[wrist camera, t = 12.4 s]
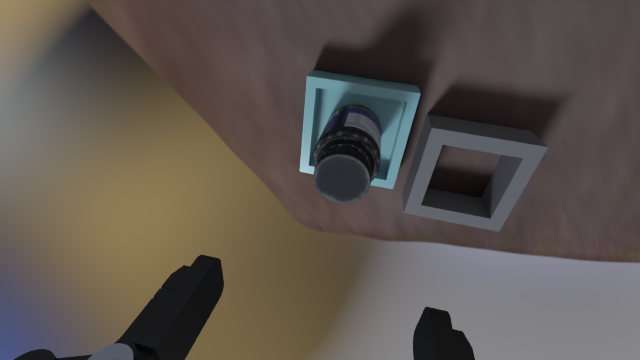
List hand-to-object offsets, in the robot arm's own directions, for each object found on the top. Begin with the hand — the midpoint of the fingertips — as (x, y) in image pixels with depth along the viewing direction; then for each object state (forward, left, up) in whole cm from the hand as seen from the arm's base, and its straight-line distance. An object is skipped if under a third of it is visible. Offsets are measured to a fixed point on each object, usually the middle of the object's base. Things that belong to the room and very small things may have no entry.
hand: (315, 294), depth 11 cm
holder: (-12, +5, -25) cm, 28 cm away
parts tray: (0, +3, -25) cm, 25 cm away
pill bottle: (0, +3, -24) cm, 24 cm away
